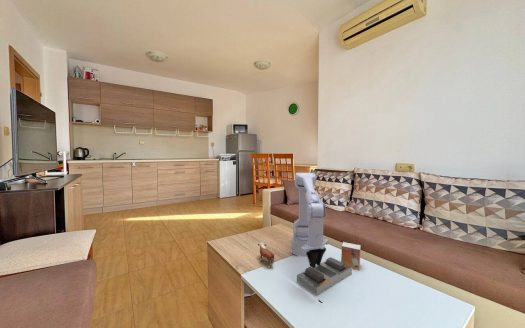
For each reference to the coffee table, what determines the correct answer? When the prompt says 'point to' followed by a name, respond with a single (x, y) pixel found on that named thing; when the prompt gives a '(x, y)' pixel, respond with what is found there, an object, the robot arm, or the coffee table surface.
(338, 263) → the dark grey rectangular block
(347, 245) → the small box
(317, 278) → the dark grey block piece
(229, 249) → the coffee table surface
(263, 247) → the bull figurine
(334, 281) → the rack
